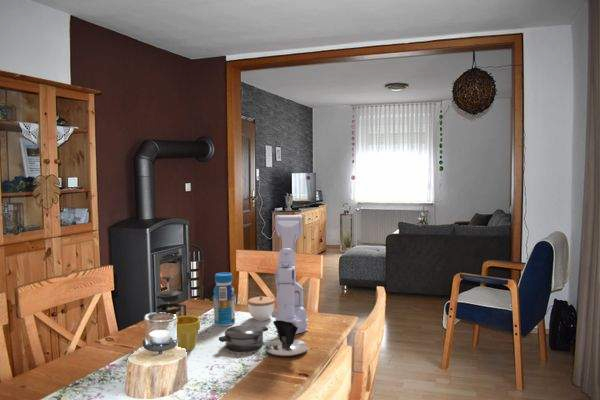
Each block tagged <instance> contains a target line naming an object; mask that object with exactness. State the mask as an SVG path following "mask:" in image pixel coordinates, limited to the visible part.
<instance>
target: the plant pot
mask: <svg viewBox="0 0 600 400" xmlns="http://www.w3.org/2000/svg"><path fill="white" fill-rule="evenodd" d="M176 317H177V319H178V322H177V339H178V347H181V348H185V349H186V350H187V351H190V350H191V351H192V350H194V349H195V348H196V343H197V338H198V332H199V330H200V328H201V318H200V317H199V316H195V315H186V316H183V315H181V316H180V317H179V316H176Z"/></svg>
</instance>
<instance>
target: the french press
mask: <svg viewBox="0 0 600 400" xmlns="http://www.w3.org/2000/svg"><path fill="white" fill-rule="evenodd" d="M161 279H162V280H165V281H166V283H167V290H163V291H158V292H157V293H155V297H156V298H157V299H160V300H161V301H163V302H165V303H163V304H159V305H157V306H156V307H155V313H159V312H166V313H170V314H171V315H172V314H176V315H177V313H178V317H180V316H187V305H186V304H185V303H173V302H176V301H178V300H180V298H181V294H182V292H181V291H179V290H173V289H172V290H170V289H169V288H170V287H169V283H170V280H172V279H174V276H172V275H166V276H162V277H161ZM170 308H173V309H170ZM182 309H183V310H182ZM182 311H183V315H182ZM159 314H160V313H159Z"/></svg>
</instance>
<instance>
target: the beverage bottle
mask: <svg viewBox="0 0 600 400" xmlns="http://www.w3.org/2000/svg"><path fill="white" fill-rule="evenodd" d="M214 282H215V283H216V284H215V286H214V288H213V297H212V300H213V314H214V317H213V318H214V321H213V323H214V325H215V326H218V327H228V326H232V325H234V324H235V322H236V318H235V315H236V314H235V299H236V297H235V294H234V293H235V288H234V286H233V284H232V282H233V274H232V273H231V272H227V271H226V272H225V271H223V272H218V273H215V275H214Z"/></svg>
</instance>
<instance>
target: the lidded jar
mask: <svg viewBox="0 0 600 400" xmlns="http://www.w3.org/2000/svg"><path fill="white" fill-rule="evenodd" d="M247 303H248V312H249V314H250V316H251V317H252V318H253V319H254V320H255V321H262V322H263V321H267V320H269V319H270V317H272V311H275V310H274V309H275V299H274V297H269V296H263V295H260V296H255V297H251V298H249V299H248V300H247Z"/></svg>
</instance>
